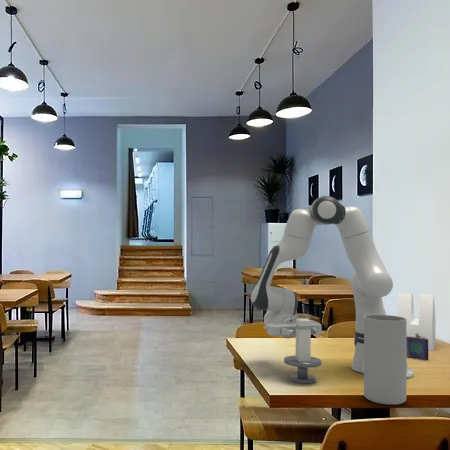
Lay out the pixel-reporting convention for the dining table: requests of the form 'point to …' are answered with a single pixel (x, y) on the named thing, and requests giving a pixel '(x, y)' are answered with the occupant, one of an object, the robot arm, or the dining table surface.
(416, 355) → the flask
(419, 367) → the dining table surface
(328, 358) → the dining table surface
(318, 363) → the pedestal
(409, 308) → the white u-shaped block
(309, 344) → the column
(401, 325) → the cylinder vase
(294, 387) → the dining table surface
